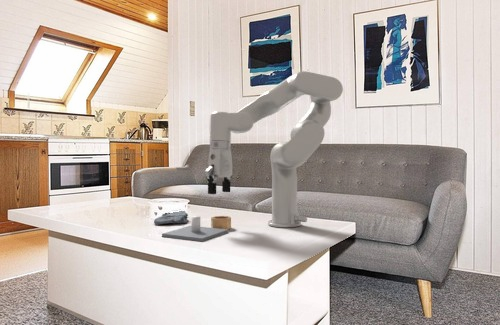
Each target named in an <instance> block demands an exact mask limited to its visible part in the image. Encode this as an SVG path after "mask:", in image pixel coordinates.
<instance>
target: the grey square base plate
mask: <svg viewBox="0 0 500 325" xmlns="http://www.w3.org/2000/svg"><path fill="white" fill-rule="evenodd" d="M190 218H191V219H190V220H191V223H190V225H189V226H183V227H181V228H177V229H174V230H171V231H167V232H163V233H161V237H163V238H171V239H179V240H187V241H196V242H205V241H208V240H211V239H213V238H216V237H217V238H218V237H220V236H222V235H225V234H227V233H229V229H218V228H211V227H207V226H201V216H200V215H197V216H196V215H194V216H193V215H192V216H191V217H190Z"/></svg>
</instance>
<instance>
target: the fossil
mask: <svg viewBox="0 0 500 325" xmlns="http://www.w3.org/2000/svg"><path fill="white" fill-rule="evenodd" d="M188 216H189V214H188V213H187V212H186V211H185V210H182V211H179V212H173V213H170V214H168V213H162V215H161V216H158V217H157V218H154V220H153V223H154V225H155V226H159V225H163V224H164V225H166V224H180V225H181V224H188V221H187V219H188Z"/></svg>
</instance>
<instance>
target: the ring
mask: <svg viewBox="0 0 500 325" xmlns="http://www.w3.org/2000/svg"><path fill="white" fill-rule="evenodd" d="M210 228H218V229H228V230H231V229H232V217H230V216H226V215H216V216H212V217H210Z"/></svg>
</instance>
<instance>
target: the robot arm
mask: <svg viewBox="0 0 500 325" xmlns="http://www.w3.org/2000/svg"><path fill="white" fill-rule="evenodd" d="M343 91H344V88H343V84H342V82H341V81H340V80H339V79H338V78H335V77H333V76H329V75H324V74H319V73H315V72H310V71H303V70H302V71H298V72H296V73H295V74H292V75H289V77H287V78H286V79H284V80H282V81H281V82H280V83H278V84H277V85H275V86H273V87H272V88H270V89H269V90H267V91H265V92H264V93H263V94H261V95H260V96H258V97H257V98H256V99H254V100H253V101H252V102H250V103H249V104H247V105H245V106H243V107H242V108H241V109H240V110H238V111H237V112H227V111H214V112H213V111H212V113H211V114H210V120H209V121H210V127H209V129H210V130H209V155H208V161H207V162H208V163H207V164H208V166H207V168H206V169H205V171H204V173H205V177H206V182H207V194H208V195H217V180H218V178H222V182H221V183H222V185H221V187H222V188H221V191H222V192H223V193H231V182H232V177H233V172H234V169H233V157H232V150H231V146H232V145H231V142H232V139H231V138H232V134H244V133H247V132H249V131H251V130H252V128H253V127H254V124H256V123H258V122H259V121H261V120H263V119H265V118H267V117H269V116H270V117H271V116H272V115H274V114H276V113H278V112H280V111H281V110H282V109H284V108H285V107H287V106H288V105H290V104H292V103H293V102H294V101H295V100H297V99H298V98H300V97H302V96H305V95H306V96H307V95H308V96H309V98H310V108H309V109H308V111H307V112H306V113H305V115H303V116H302V118H301V119H300V120H299V121H298V122H297V123H296V124H295V125H294V126H293V127H292V129H291V131H290V134H289V135H290V136H289V137H290V140H288V141H282V142H279V143H276V144H275V145H274V146H273V147H272V148H271V150H270V158H269V159H270V166H271V220H268V221H267V224H268V226H270V227H274V228H296V227H300V226H301V225H302V223H307V222H308V217H307V216H301V215H300V212H298V175H297V168H299V167H301V166H302V165H304V164H305V162H306V161H308V160H309V158H310V157H311V156H312V154H314V152H315V151H317V149H318V148H319V147H320V146H321V145H322V142H323V141H324V138H325V128H324V127H325V126H326V125H327V123H328V122H329V120H330V118H331V114H332V106H331V102H333V101H336V100H338V99H339V98H340V97H341V96H342V94H343Z"/></svg>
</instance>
